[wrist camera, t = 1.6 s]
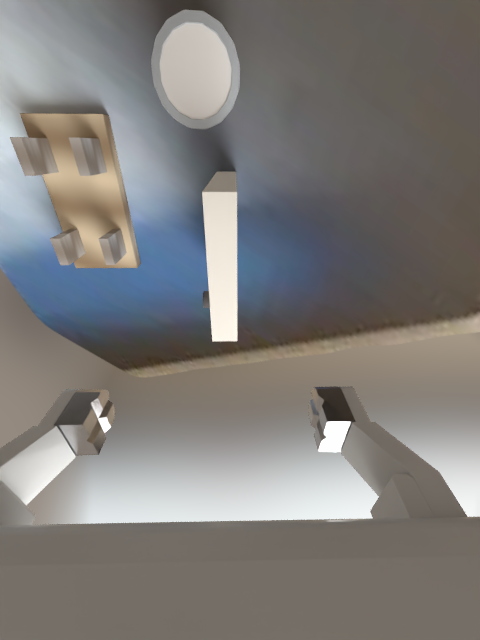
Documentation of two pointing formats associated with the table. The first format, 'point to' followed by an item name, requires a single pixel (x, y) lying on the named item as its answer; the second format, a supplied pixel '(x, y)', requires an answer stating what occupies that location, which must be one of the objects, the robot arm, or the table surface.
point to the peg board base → (81, 187)
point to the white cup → (195, 69)
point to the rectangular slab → (221, 254)
